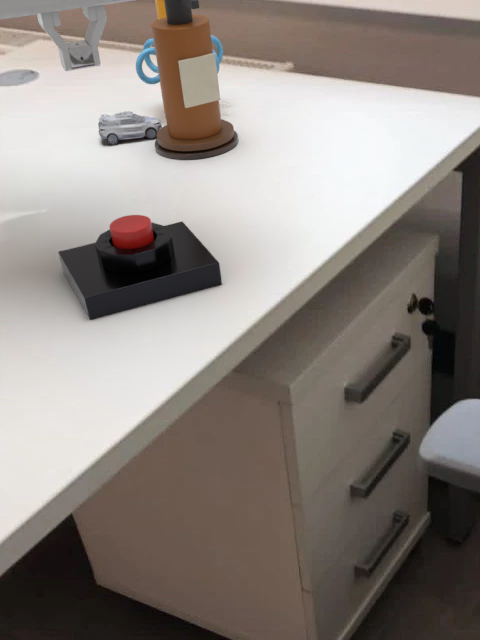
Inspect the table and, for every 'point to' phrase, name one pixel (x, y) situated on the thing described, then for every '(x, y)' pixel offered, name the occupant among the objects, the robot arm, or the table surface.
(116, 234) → the button
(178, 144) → the labeled post on disc
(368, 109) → the table surface
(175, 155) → the turntable base
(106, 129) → the toy car
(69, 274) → the button block
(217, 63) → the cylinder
